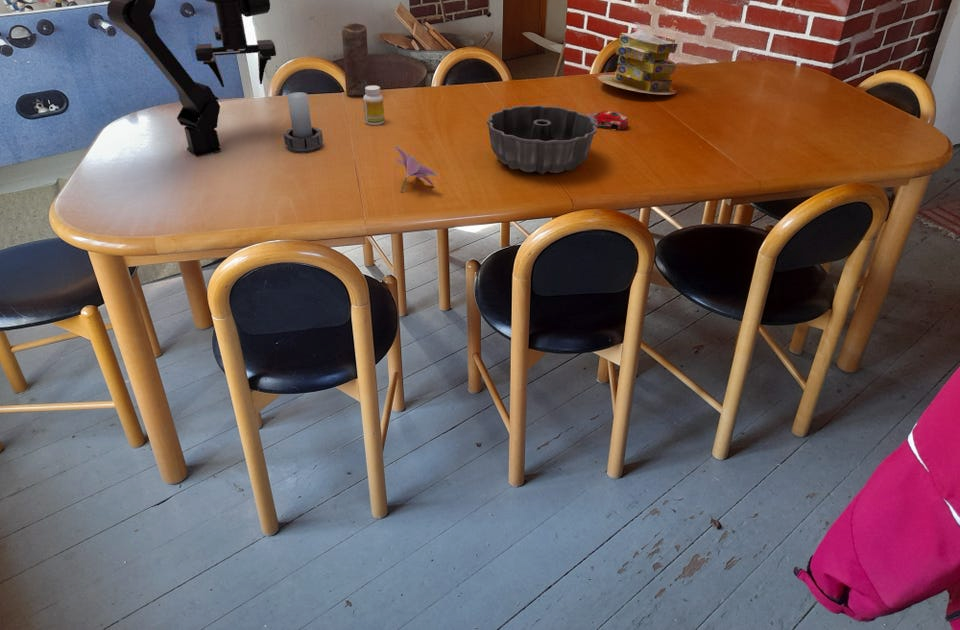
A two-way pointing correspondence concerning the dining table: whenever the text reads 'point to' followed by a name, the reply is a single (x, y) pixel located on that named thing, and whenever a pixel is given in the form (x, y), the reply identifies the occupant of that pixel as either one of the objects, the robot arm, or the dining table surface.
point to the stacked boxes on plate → (643, 64)
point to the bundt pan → (541, 137)
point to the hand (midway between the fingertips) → (242, 85)
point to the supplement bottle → (373, 106)
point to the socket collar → (303, 141)
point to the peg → (300, 115)
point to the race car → (609, 120)
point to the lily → (414, 167)
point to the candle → (355, 59)
